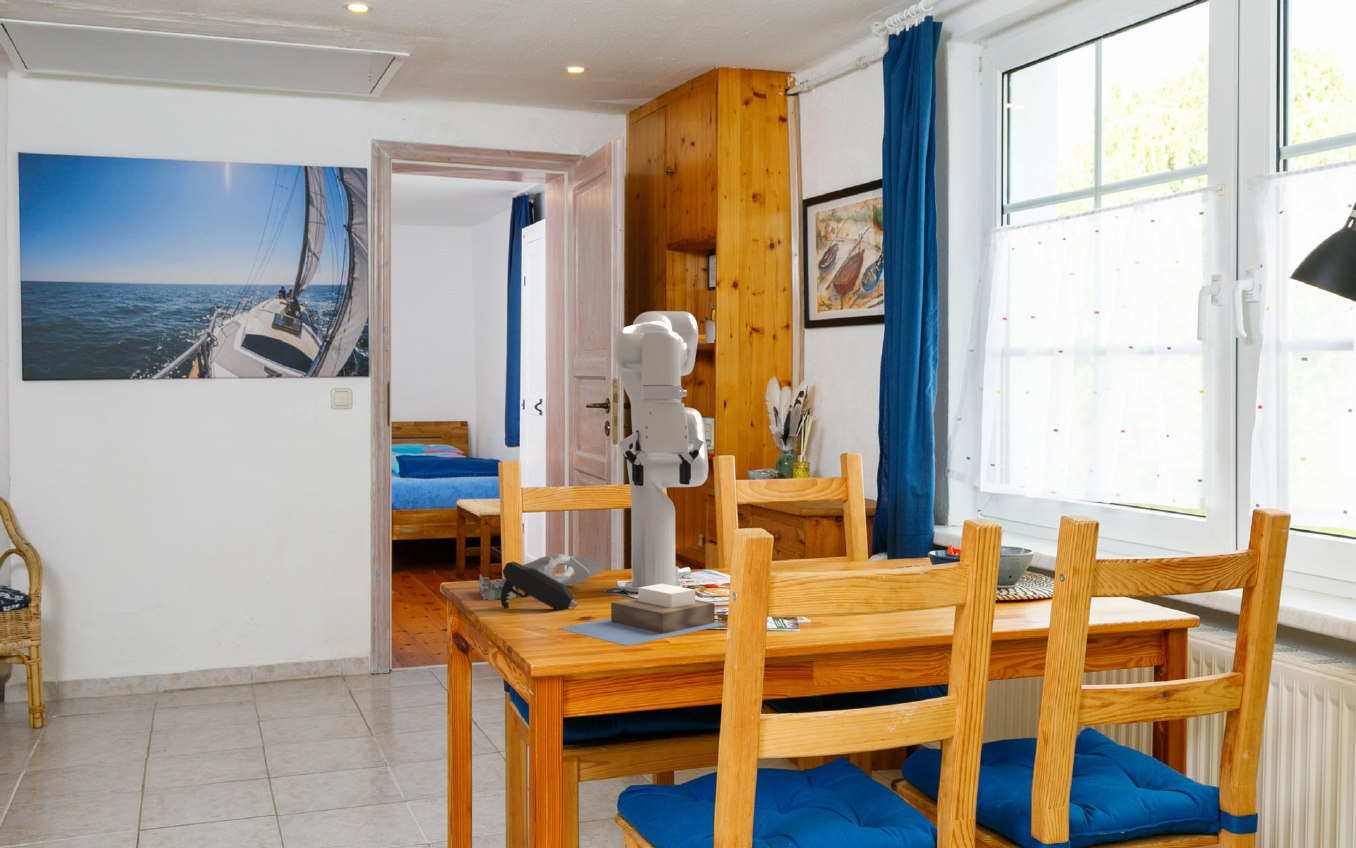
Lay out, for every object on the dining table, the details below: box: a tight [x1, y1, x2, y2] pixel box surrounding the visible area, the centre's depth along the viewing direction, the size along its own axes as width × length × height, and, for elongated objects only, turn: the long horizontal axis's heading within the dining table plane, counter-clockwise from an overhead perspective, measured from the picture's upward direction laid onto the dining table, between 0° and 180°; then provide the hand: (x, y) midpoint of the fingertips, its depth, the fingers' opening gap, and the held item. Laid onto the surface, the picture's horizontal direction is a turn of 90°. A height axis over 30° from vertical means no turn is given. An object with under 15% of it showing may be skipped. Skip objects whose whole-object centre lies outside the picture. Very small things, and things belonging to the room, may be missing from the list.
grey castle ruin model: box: [478, 574, 517, 601], centre depth 235 cm, size 11×8×4 cm
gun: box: [500, 561, 578, 612], centre depth 220 cm, size 3×16×10 cm, turn 78°
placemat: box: [557, 617, 727, 647], centre depth 202 cm, size 24×19×1 cm
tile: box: [637, 584, 696, 608], centre depth 206 cm, size 6×9×2 cm, turn 44°
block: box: [610, 597, 716, 634], centre depth 206 cm, size 13×14×4 cm
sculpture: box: [522, 553, 605, 587], centre depth 249 cm, size 18×20×6 cm
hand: (661, 484), depth 214 cm, fingers open, 9 cm apart
